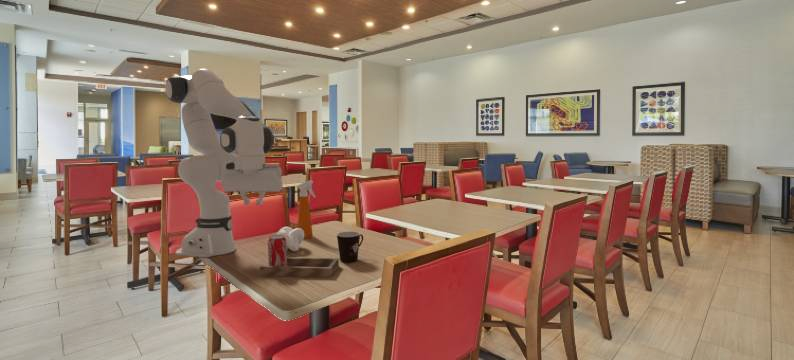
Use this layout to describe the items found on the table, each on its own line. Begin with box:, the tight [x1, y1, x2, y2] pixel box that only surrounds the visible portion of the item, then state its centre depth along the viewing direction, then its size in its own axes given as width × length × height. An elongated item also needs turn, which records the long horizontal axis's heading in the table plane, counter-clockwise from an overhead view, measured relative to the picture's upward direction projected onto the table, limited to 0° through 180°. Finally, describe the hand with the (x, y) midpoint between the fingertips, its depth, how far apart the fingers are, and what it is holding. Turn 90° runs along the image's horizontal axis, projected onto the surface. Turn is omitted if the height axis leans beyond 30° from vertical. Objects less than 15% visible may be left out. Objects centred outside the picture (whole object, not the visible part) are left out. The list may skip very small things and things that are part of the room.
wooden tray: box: [259, 256, 340, 278], centre depth 145 cm, size 24×11×3 cm, turn 85°
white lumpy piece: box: [276, 226, 305, 252], centre depth 171 cm, size 11×12×9 cm
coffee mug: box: [336, 230, 364, 264], centre depth 157 cm, size 12×9×10 cm
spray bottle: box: [297, 180, 317, 239], centre depth 191 cm, size 7×11×26 cm, turn 58°
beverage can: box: [267, 234, 288, 266], centre depth 145 cm, size 6×6×12 cm
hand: (253, 204), depth 144 cm, fingers open, 3 cm apart
